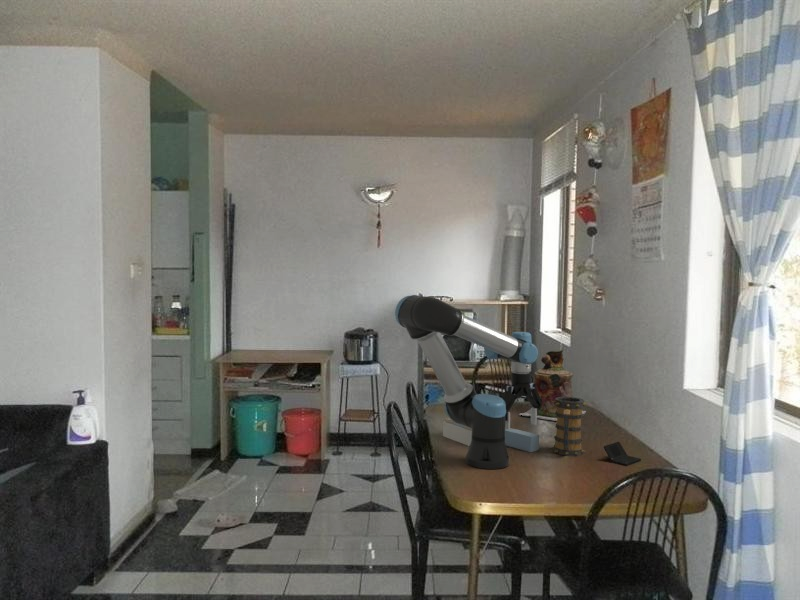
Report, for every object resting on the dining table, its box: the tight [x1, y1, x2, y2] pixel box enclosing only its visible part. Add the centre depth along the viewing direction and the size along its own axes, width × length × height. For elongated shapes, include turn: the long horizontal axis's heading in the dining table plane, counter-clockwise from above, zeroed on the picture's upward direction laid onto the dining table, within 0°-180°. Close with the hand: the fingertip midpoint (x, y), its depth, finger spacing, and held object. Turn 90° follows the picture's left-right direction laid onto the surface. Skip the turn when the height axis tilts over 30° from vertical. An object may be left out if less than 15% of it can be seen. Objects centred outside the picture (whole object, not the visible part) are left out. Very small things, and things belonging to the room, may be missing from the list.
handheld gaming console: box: [603, 441, 642, 467], centre depth 239 cm, size 12×7×10 cm
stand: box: [442, 417, 472, 447], centre depth 265 cm, size 14×18×7 cm
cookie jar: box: [519, 348, 587, 422], centre depth 312 cm, size 25×25×32 cm
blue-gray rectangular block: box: [505, 427, 540, 453], centre depth 255 cm, size 5×15×6 cm, turn 41°
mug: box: [550, 396, 588, 457], centre depth 246 cm, size 13×17×20 cm
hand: (520, 426), depth 255 cm, fingers open, 13 cm apart
